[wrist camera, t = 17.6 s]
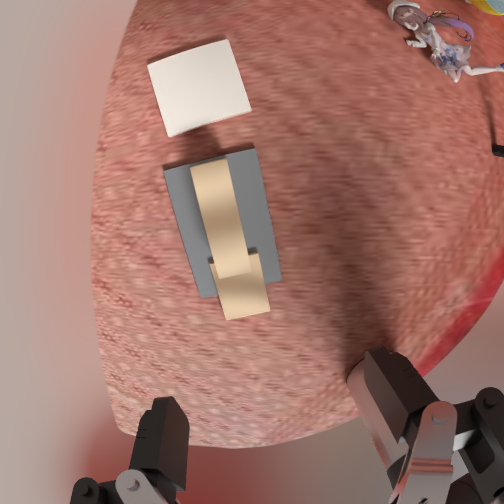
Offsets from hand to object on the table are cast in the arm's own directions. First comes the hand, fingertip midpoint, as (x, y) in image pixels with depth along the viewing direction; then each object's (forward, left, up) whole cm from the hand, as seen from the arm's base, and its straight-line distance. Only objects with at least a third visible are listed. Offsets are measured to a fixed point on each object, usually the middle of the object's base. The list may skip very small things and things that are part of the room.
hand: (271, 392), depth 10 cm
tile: (+12, 0, -19) cm, 23 cm away
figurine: (+19, -27, -20) cm, 39 cm away
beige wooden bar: (0, +1, -19) cm, 19 cm away
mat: (+2, +1, -20) cm, 20 cm away
